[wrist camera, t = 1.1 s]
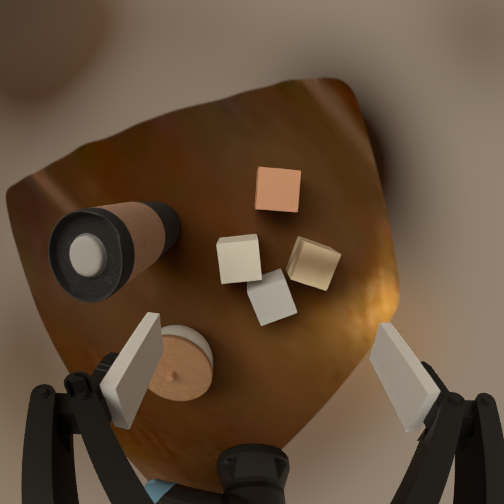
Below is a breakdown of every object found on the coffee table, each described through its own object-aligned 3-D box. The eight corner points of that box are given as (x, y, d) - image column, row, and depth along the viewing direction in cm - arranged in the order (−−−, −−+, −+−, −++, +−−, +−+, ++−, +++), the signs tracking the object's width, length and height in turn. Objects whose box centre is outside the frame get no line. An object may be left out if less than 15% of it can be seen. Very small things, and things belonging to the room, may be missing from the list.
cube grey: (291, 299, 42) (297, 312, 37) (259, 311, 42) (261, 326, 37) (280, 268, 41) (284, 278, 36) (246, 280, 41) (247, 292, 36)
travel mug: (131, 251, 40) (51, 297, 20) (132, 198, 38) (45, 207, 19) (181, 256, 40) (126, 311, 20) (183, 201, 39) (124, 209, 19)
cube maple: (317, 279, 41) (326, 290, 36) (285, 269, 41) (290, 279, 36) (330, 247, 40) (341, 254, 35) (298, 235, 40) (305, 241, 35)
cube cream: (260, 269, 41) (262, 279, 36) (224, 273, 41) (221, 283, 36) (256, 233, 40) (257, 239, 35) (219, 237, 40) (216, 244, 35)
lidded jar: (170, 300, 41) (152, 327, 32) (230, 338, 43) (227, 374, 33) (140, 348, 43) (119, 380, 34) (195, 382, 44) (186, 419, 35)
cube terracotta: (291, 209, 39) (297, 212, 34) (254, 207, 39) (255, 209, 34) (294, 173, 38) (300, 170, 33) (257, 170, 38) (258, 166, 33)
